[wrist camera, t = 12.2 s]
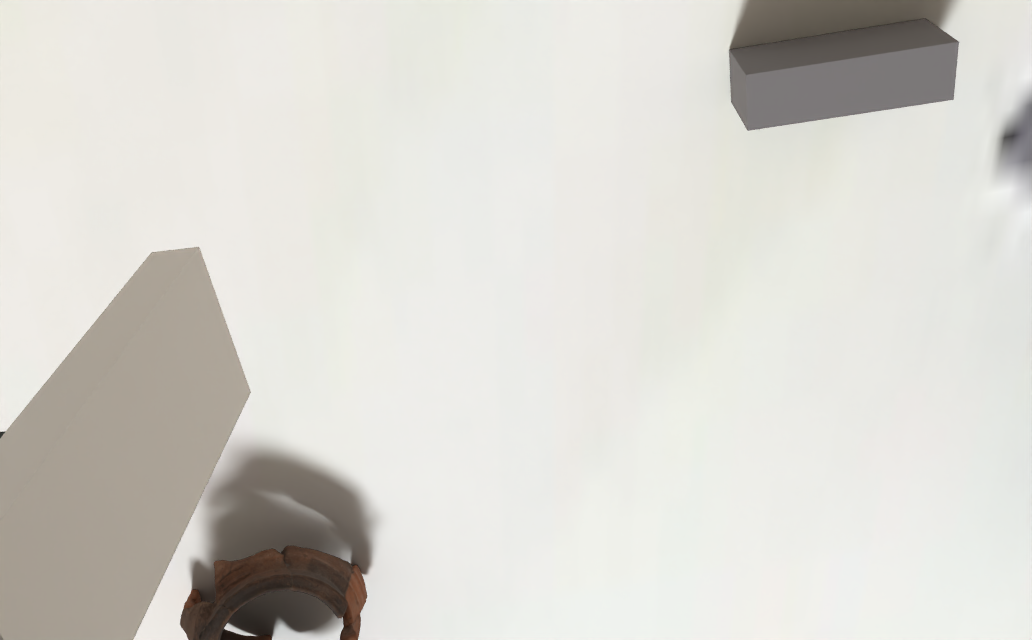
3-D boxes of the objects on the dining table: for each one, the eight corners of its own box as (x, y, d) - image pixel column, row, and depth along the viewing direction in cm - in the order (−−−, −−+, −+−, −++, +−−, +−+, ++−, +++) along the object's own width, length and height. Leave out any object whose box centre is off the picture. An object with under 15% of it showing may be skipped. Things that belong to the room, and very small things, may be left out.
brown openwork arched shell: (148, 552, 49) (142, 623, 41) (314, 471, 51) (337, 524, 43) (244, 729, 52) (255, 825, 44) (396, 645, 54) (431, 722, 47)
